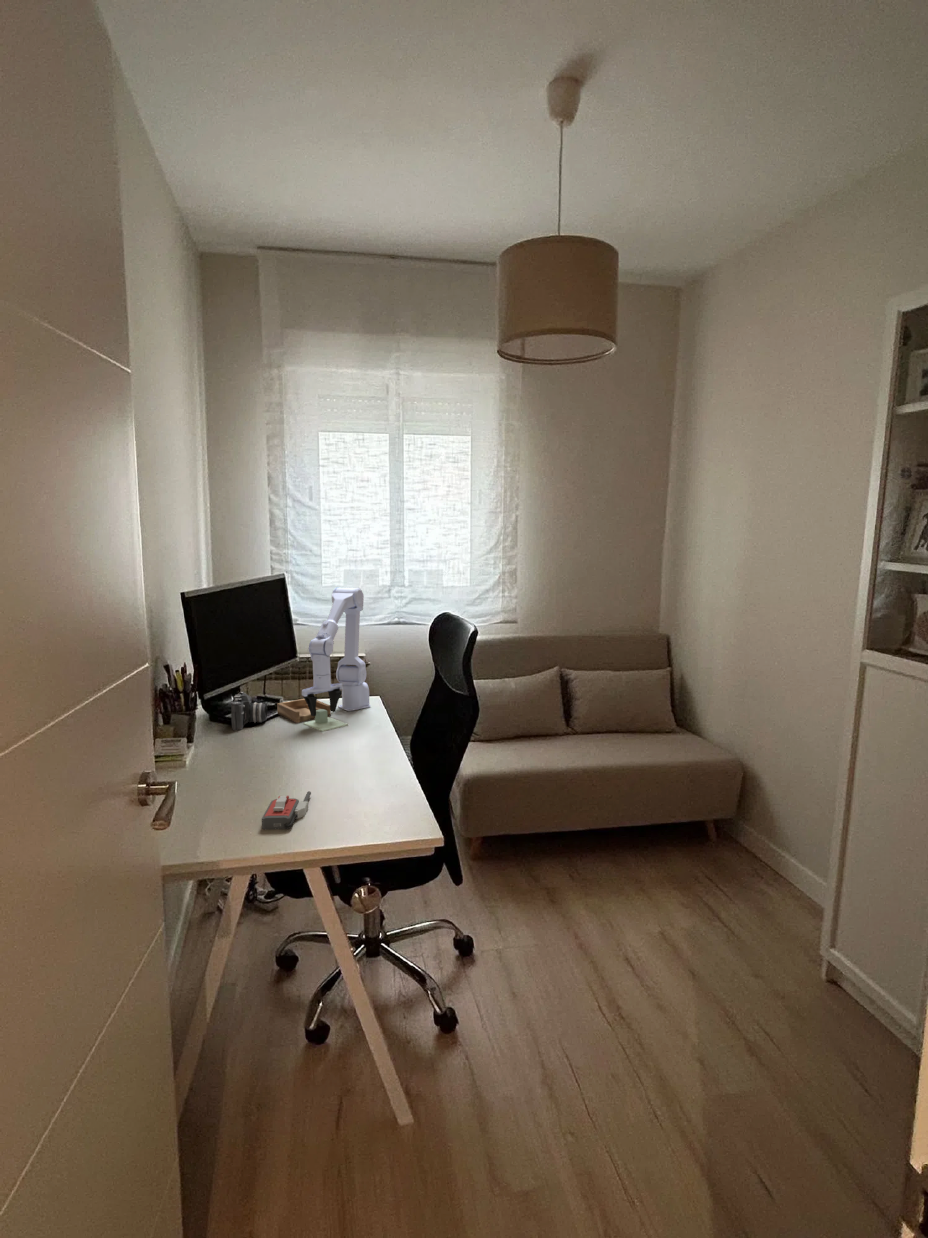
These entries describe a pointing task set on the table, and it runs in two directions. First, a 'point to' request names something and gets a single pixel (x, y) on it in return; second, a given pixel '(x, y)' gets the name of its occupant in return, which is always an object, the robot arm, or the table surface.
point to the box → (299, 710)
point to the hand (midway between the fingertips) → (323, 713)
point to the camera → (246, 711)
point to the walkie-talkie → (284, 812)
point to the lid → (324, 721)
